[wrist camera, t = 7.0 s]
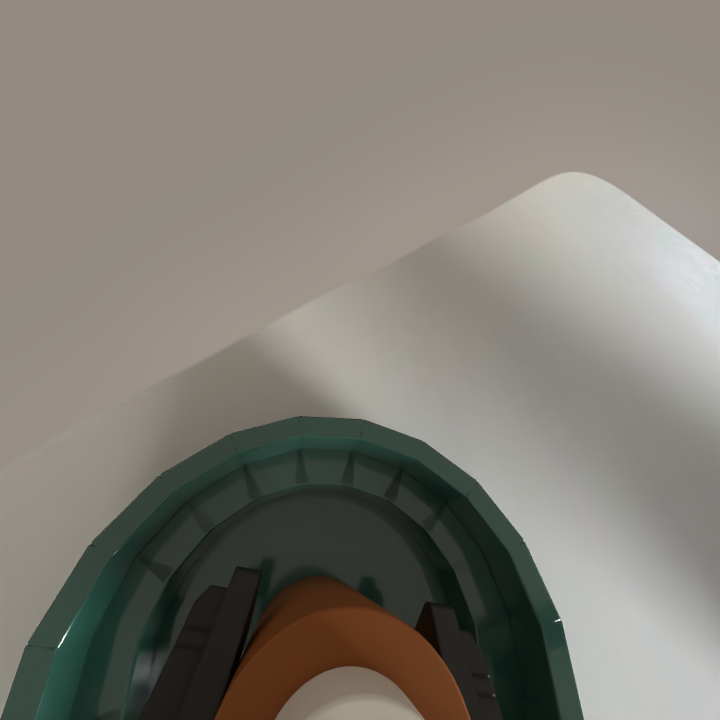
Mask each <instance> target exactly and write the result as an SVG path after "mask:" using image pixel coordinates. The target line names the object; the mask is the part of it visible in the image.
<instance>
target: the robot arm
mask: <svg viewBox="0 0 720 720" xmlns="http://www.w3.org/2000/svg"><path fill="white" fill-rule="evenodd" d="M261 574H262V571H261V570H256V569H250V568H245V567H239V566H237V567H236V568H235V571H234V573H233V576H232V578H231V581H230V583H229V586H228V588H227V587H221V586H215V585H210V586H209V587H208V588H207V589H206V590H205V591H204V592H203V593H202V594H201V595H200V596H199V598H198V599H197V600H196V601H195V602H194V604H193V606H192V608H191V610H190V613H189V615H188V617H187V619H186V621H185V624H184V626H183V627H182V630H181V632H180V634H179V636H178V638H177V640H176V643H175V645H174V646H173V649H172V651H171V653H170V655H169V657H168V659H167V661H166V663H165V666H164V668H163V670H162V672H161V674H160V676H159V678H158V680H157V683H156V685H155V687H154V689H153V691H152V693H151V695H150V697H149V699H148V702H147V704H146V706H145V708H144V710H143V712H142V714H141V716H140V719H139V720H214V719H215V716H216V714H217V712H218V709H219V707H220V705H221V703H222V700H223V698H224V696H225V694H226V691H227V689H228V687H229V685H230V682H231V680H232V678H233V676H234V673H235V671H236V669H237V667H238V664H239V662H240V659H241V656H242V653H243V649H244V646H245V642H246V639H247V635H248V632H249V628H250V624H251V620H252V616H253V612H254V608H255V603H256V598H257V593H258V589H259V584H260V579H261ZM415 630H416V631H417V632H418V633H420V634H421V635H422V636H423V637H424V638H425V639H426V640H427V641H428V642H429V643H430V644H431V645H432V647H433V648H434V649H435V651H436V652H437V653H438V654H439V656H440V657H441V658H442V660H443V661H444V663H445V664H446V666H447V668H448V669H449V671H450V672H451V674H452V676H453V677H454V679H455V682H456V684H457V686H458V688H459V690H460V692H461V694H462V696H463V699H464V702H465V705H466V708H467V711H468V713H469V716H470V719H471V720H503V717H502V713H501V710H500V707H499V704H498V701H497V700H496V698H495V695H496V694H495V691H494V688H493V685H492V681H491V680H490V679H489V676H490V675H489V672H488V669H487V666H486V662H485V659H484V656H483V653H482V651H481V649H480V648H479V646H478V645H477V643H476V641H475V640H474V638H473V637H472V635H471V633H470V632H469V631H463V630H460V629H459V625H458V621H457V618H456V614H455V611H454V609H453V607H452V606H449V605H443V604H438V603H432V602H425V604H424V606H423V608H422V611H421V614H420V616H419V619H418V621H417V624H416V627H415Z"/></svg>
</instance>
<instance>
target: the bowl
mask: <svg viewBox="0 0 720 720" xmlns="http://www.w3.org/2000/svg"><path fill="white" fill-rule="evenodd" d="M237 566H239V567H245V568H250V569H256V570H261V571H262V574H261V579H260V584H259V589H258V593H257V598H256V603H255V608H254V612H253V616H252V620H251V624H250V628H249V632H248V635H247V639H246V642H245V646H244V649H243V653H244V651H245V649H246V646H247V644H248V642H249V640H250V637H251V635H252V633H253V631H254V628H255V626H256V624H257V622H258V620H259V618H260V616H261V614H262V612H263V611H264V609H265V608H266V606H267V605H268V604H269V602H270V601H271V600H272V599H273V598H274V597H275V596H276V595H277V594H278V593H279V592H280V591H281V590H283V589H284V588H285V587H286V586H288V585H290V584H291V583H293V582H295V581H298V580H300V579H303V578H307V577H312V576H327V577H331V578H335V579H337V580H340V581H342V582H344V583H346V584H347V585H349V586H350V587H352V588H353V589H355V590H356V591H358V592H359V593H361V594H363V595H364V596H366V597H367V598H369V599H370V600H372V601H373V602H375V603H376V604H378V605H379V606H381V607H382V608H384V609H385V610H387V611H389V612H390V613H392V614H393V615H395V616H396V617H398V618H399V619H401V620H402V621H404V622H405V623H407V624H408V625H409V626H411V627H412V628H413V629H415V627H416V624H417V621H418V619H419V616H420V614H421V611H422V608H423V606H424V604H425V602H432V603H438V604H443V605H449V606H452V607H453V609H454V611H455V614H456V618H457V621H458V625H459V629H460V630H463V631H469V632H470V633H471V635H472V637H473V638H474V640H475V641H476V643H477V645H478V646H479V648H480V649H481V651H482V653H483V656H484V659H485V662H486V666H487V669H488V672H489V675H490V676H489V679H490V680H491V681H492V685H493V688H494V691H495V694H496V695H495V698H496V700H497V701H498V704H499V707H500V710H501V713H502V717H503V720H584V718H583V714H582V709H581V705H580V700H579V696H578V691H577V687H576V682H575V678H574V673H573V669H572V664H571V660H570V656H569V651H568V647H567V642H566V638H565V633H564V629H563V624H562V621H560V617H559V614H558V612H557V610H556V608H555V606H554V604H553V602H552V599H551V597H550V595H549V593H548V591H547V589H546V586H545V584H544V582H543V580H542V578H541V576H540V574H539V571H538V569H537V567H536V565H535V563H534V561H533V559H532V556H531V554H530V552H529V550H528V548H527V546H526V543H525V542H524V541H523V538H522V537H521V536H520V534H519V533H518V532H517V531H516V529H515V528H514V527H513V526H512V524H511V523H510V522H509V521H508V519H507V518H506V517H505V516H504V514H503V513H502V512H501V511H500V509H499V508H498V507H497V506H496V504H495V503H494V502H493V500H492V499H491V498H490V497H489V495H488V494H487V493H486V492H485V490H484V489H483V488H482V487H481V485H480V484H479V483H478V482H477V481H476V480H475V479H474V478H472V477H471V476H470V475H468V474H467V473H465V472H464V471H463V470H461V469H460V468H459V467H457V466H456V465H455V464H453V463H452V462H451V461H449V460H448V459H447V458H445V457H444V456H442V455H441V454H440V453H438V452H437V451H436V450H434V449H433V448H432V447H430V446H429V445H428V444H426V443H425V442H422V441H421V440H419V439H416V438H413V437H411V436H408V435H405V434H402V433H399V432H397V431H394V430H391V429H388V428H386V427H383V426H380V425H377V424H375V423H372V422H369V421H366V420H362V419H347V418H326V417H305V416H299V417H294V418H290V419H286V420H282V421H278V422H274V423H270V424H266V425H262V426H258V427H255V428H251V429H247V430H243V431H239V432H235V433H232V434H231V435H230V434H229V435H227V436H225V437H224V438H222V439H220V440H218V441H217V442H215V443H213V444H212V445H210V446H208V447H206V448H205V449H203V450H201V451H199V452H198V453H196V454H194V455H193V456H191V457H189V458H187V459H186V460H184V461H182V462H181V463H179V464H177V465H175V466H174V467H172V468H170V469H168V470H167V471H165V472H163V473H162V474H161V476H158V477H157V478H156V479H155V480H154V481H153V482H152V483H151V484H150V485H149V486H148V487H147V488H146V489H145V490H144V491H143V492H142V493H141V494H140V495H139V496H138V497H137V498H136V499H135V500H134V501H133V502H132V503H131V504H130V505H129V506H128V507H127V508H126V509H125V510H124V511H123V512H122V513H121V514H119V515H118V516H117V517H116V518H115V519H114V520H113V521H112V522H111V523H110V524H109V525H108V526H107V527H106V528H105V529H104V530H103V531H102V532H101V533H100V534H99V535H98V536H97V537H96V538H95V539H94V540H93V541H92V544H90V545H89V546H88V547H87V549H86V551H85V552H84V554H83V555H82V557H81V559H80V560H79V562H78V563H77V565H76V567H75V568H74V570H73V571H72V573H71V575H70V576H69V578H68V579H67V581H66V583H65V584H64V586H63V587H62V589H61V591H60V592H59V594H58V595H57V597H56V599H55V600H54V602H53V603H52V605H51V607H50V608H49V610H48V611H47V613H46V615H45V616H44V618H43V619H42V621H41V623H40V624H39V626H38V627H37V629H36V631H35V632H34V634H33V635H32V637H31V638H30V640H29V642H28V644H29V645H27V646H26V647H25V649H24V652H23V655H22V658H21V661H20V664H19V667H18V670H17V673H16V676H15V679H14V681H13V684H12V687H11V690H10V693H9V696H8V699H7V702H6V705H5V708H4V711H3V714H2V716H1V719H0V720H139V719H140V716H141V714H142V712H143V710H144V708H145V706H146V704H147V702H148V699H149V697H150V695H151V693H152V691H153V689H154V687H155V685H156V683H157V680H158V678H159V676H160V674H161V672H162V670H163V668H164V666H165V663H166V661H167V659H168V657H169V655H170V653H171V651H172V649H173V646H174V645H175V643H176V640H177V638H178V636H179V634H180V632H181V630H182V627H183V626H184V624H185V621H186V619H187V617H188V615H189V613H190V610H191V608H192V606H193V604H194V602H195V601H196V600H197V599H198V598H199V596H200V595H201V594H202V593H203V592H204V591H205V590H206V589H207V588H208V587H209V586H210V585H215V586H221V587H227V588H228V586H229V583H230V581H231V578H232V576H233V573H234V571H235V568H236V567H237ZM243 653H242V655H243ZM241 658H242V656H241ZM240 660H241V659H240Z"/></svg>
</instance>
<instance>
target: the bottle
mask: <svg viewBox="0 0 720 720" xmlns="http://www.w3.org/2000/svg"><path fill="white" fill-rule="evenodd" d="M214 720H471V719H470V716H469V713H468V711H467V708H466V705H465V702H464V699H463V696H462V694H461V692H460V690H459V688H458V686H457V684H456V682H455V679H454V677H453V676H452V674H451V672H450V671H449V669H448V668H447V666H446V664H445V663H444V661H443V660H442V658H441V657H440V656H439V654H438V653H437V652H436V651H435V649H434V648H433V647H432V645H431V644H430V643H429V642H428V641H427V640H426V639H425V638H424V637H423V636H422V635H421V634H420V633H418V632H417V631H416V630H415V629H413V628H412V627H411V626H409V625H408V624H407V623H405V622H404V621H402V620H401V619H399V618H398V617H396V616H395V615H393V614H392V613H390V612H389V611H387V610H385V609H384V608H382V607H381V606H379V605H378V604H376V603H375V602H373V601H372V600H370V599H369V598H367V597H366V596H364V595H363V594H361V593H359V592H358V591H356V590H355V589H353V588H352V587H350V586H349V585H347V584H346V583H344V582H342V581H340V580H337V579H335V578H331V577H327V576H312V577H307V578H303V579H300V580H298V581H295V582H293V583H291V584H290V585H288V586H286V587H285V588H284V589H283V590H281V591H280V592H279V593H278V594H277V595H276V596H275V597H274V598H273V599H272V600H271V601H270V602H269V604H268V605H267V606H266V608H265V609H264V611H263V612H262V614H261V616H260V618H259V620H258V622H257V624H256V626H255V628H254V631H253V633H252V635H251V637H250V640H249V642H248V644H247V646H246V649H245V651H244V653H243V655H242V658H241V660H240V662H239V664H238V667H237V669H236V671H235V673H234V676H233V678H232V680H231V682H230V685H229V687H228V689H227V691H226V694H225V696H224V698H223V700H222V703H221V705H220V707H219V709H218V712H217V714H216V716H215V719H214Z"/></svg>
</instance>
